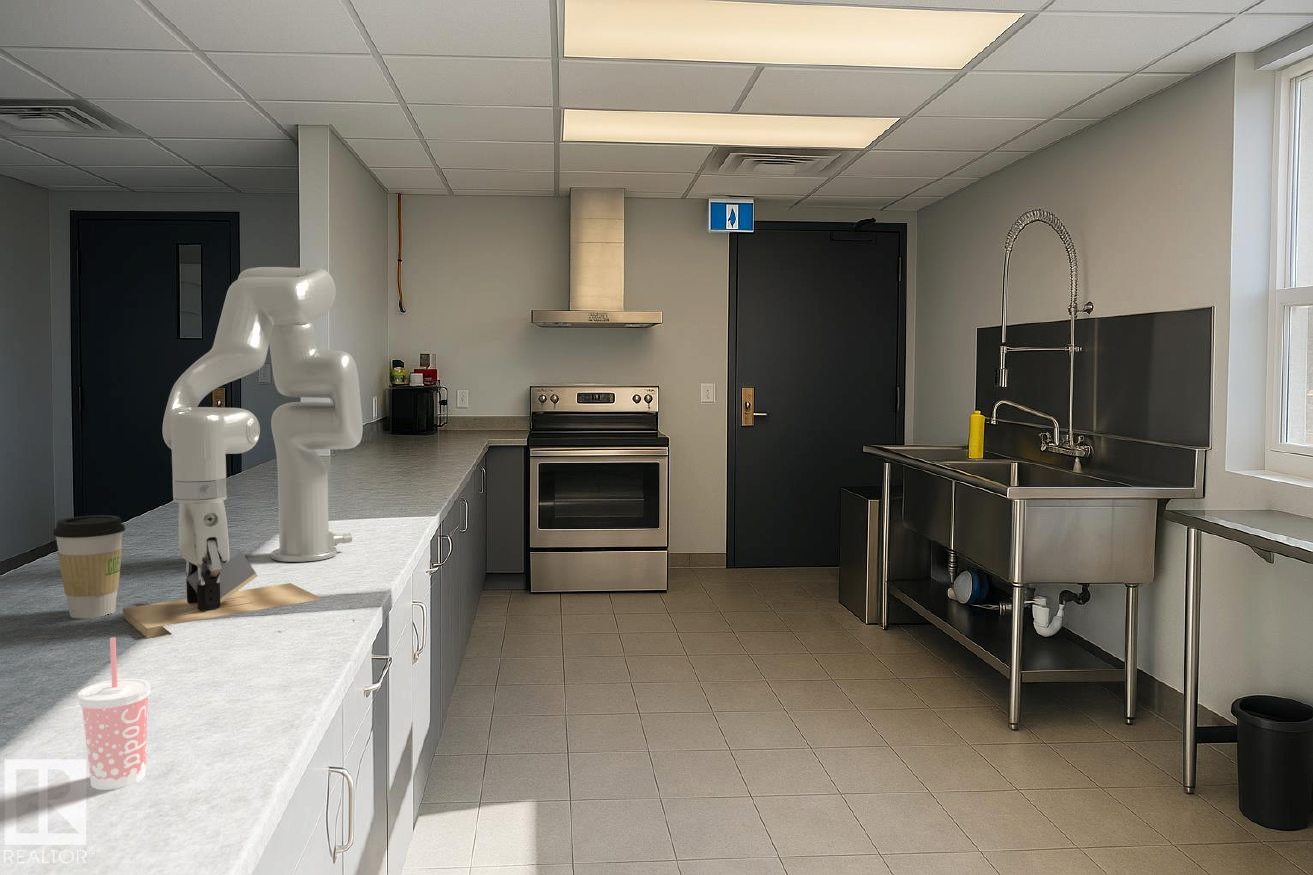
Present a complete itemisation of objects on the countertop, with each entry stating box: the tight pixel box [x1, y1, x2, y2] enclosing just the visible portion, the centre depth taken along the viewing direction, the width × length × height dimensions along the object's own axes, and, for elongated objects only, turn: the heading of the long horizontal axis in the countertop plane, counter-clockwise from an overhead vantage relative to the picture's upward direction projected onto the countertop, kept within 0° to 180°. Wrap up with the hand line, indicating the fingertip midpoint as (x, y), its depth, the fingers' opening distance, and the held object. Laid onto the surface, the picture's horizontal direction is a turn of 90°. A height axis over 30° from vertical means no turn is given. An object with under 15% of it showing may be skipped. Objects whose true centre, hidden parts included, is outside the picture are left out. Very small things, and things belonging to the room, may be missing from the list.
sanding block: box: [185, 547, 259, 603], centre depth 149 cm, size 8×4×5 cm
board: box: [122, 582, 323, 639], centre depth 150 cm, size 26×14×2 cm, turn 132°
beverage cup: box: [77, 636, 152, 791], centre depth 90 cm, size 6×6×14 cm
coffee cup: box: [52, 514, 126, 620], centre depth 148 cm, size 10×10×15 cm
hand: (203, 604), depth 147 cm, fingers closed on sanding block, 4 cm apart
